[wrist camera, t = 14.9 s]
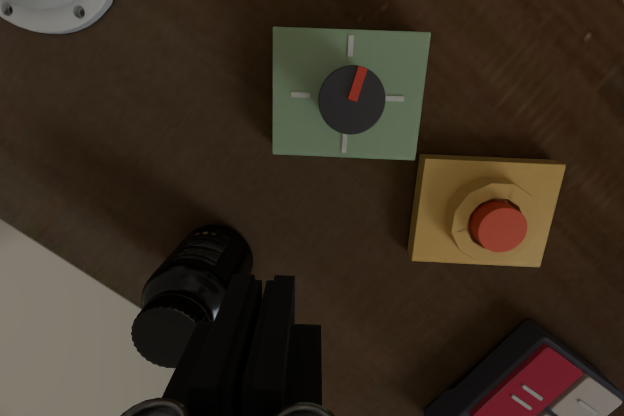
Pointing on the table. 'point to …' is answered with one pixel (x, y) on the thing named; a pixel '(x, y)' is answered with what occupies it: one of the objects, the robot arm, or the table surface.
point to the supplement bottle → (188, 291)
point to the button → (498, 226)
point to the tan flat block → (472, 194)
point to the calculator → (530, 382)
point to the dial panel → (327, 58)
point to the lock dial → (351, 99)
